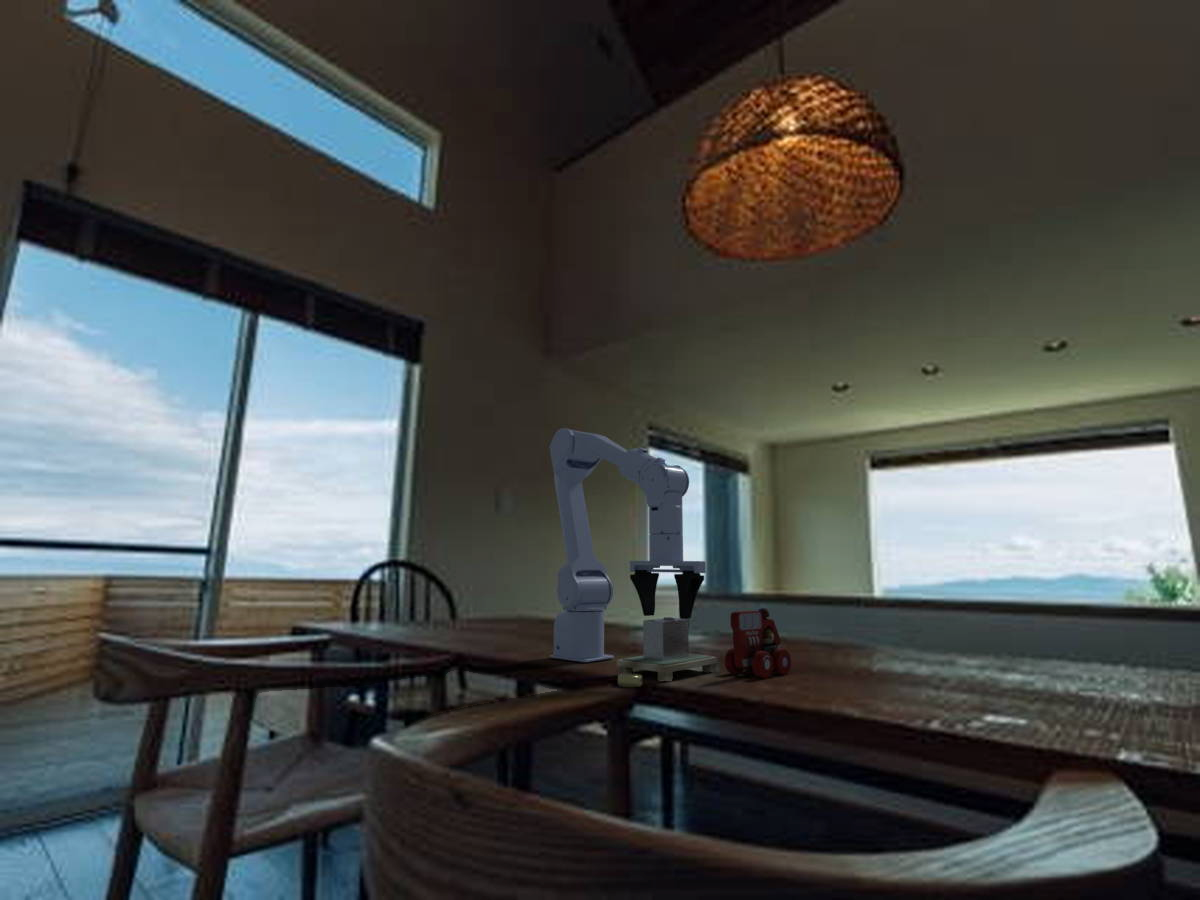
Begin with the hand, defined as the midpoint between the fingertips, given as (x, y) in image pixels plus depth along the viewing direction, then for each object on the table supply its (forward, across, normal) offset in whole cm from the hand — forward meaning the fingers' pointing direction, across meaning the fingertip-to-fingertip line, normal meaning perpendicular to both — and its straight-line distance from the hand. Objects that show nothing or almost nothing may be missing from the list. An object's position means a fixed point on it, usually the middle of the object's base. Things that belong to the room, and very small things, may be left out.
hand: (666, 617), depth 108 cm
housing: (+6, 0, 0) cm, 6 cm away
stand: (+9, 0, 0) cm, 9 cm away
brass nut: (+9, +2, -12) cm, 15 cm away
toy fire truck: (+9, +11, +10) cm, 18 cm away
